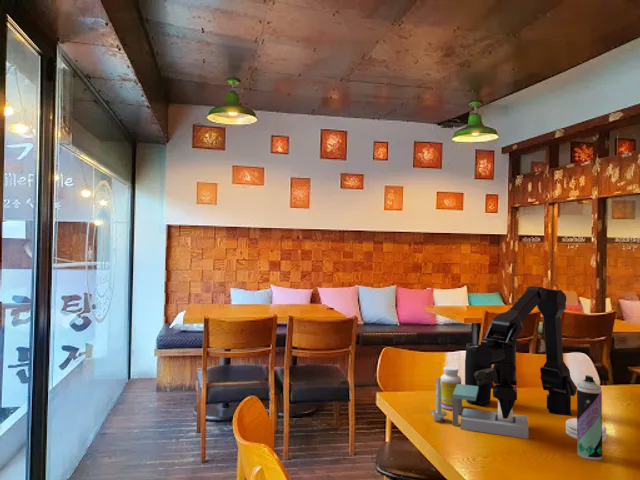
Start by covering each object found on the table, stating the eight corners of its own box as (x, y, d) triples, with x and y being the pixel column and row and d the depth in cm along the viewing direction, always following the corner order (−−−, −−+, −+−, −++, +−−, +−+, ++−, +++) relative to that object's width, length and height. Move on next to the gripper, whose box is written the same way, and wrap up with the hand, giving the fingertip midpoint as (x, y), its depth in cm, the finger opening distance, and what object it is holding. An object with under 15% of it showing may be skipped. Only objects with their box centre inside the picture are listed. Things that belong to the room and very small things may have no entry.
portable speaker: (490, 399, 166) (490, 343, 166) (492, 408, 157) (492, 348, 157) (464, 397, 168) (464, 341, 169) (464, 405, 159) (465, 346, 160)
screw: (432, 416, 148) (447, 418, 146) (428, 421, 144) (445, 423, 142) (432, 374, 149) (447, 376, 147) (428, 378, 144) (445, 380, 142)
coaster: (602, 432, 137) (601, 420, 137) (610, 445, 127) (610, 432, 127) (563, 428, 140) (563, 415, 140) (568, 440, 131) (568, 427, 131)
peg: (512, 428, 139) (512, 397, 139) (512, 432, 135) (512, 400, 136) (498, 426, 140) (498, 395, 141) (497, 430, 137) (497, 399, 137)
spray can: (572, 451, 123) (572, 373, 123) (592, 451, 123) (592, 373, 124) (586, 460, 117) (585, 379, 118) (607, 460, 118) (606, 378, 118)
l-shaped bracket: (478, 415, 149) (478, 386, 149) (475, 428, 138) (475, 396, 138) (457, 412, 152) (457, 383, 152) (452, 425, 141) (452, 394, 141)
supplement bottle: (462, 411, 153) (462, 371, 154) (441, 409, 155) (441, 370, 155) (460, 404, 160) (460, 366, 160) (440, 403, 161) (440, 365, 161)
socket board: (527, 426, 140) (527, 416, 140) (528, 438, 131) (528, 427, 131) (463, 418, 147) (463, 408, 147) (460, 429, 138) (460, 418, 138)
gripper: (478, 352, 150) (478, 402, 150) (473, 365, 133) (473, 422, 132) (516, 355, 146) (516, 407, 145) (516, 369, 129) (517, 427, 128)
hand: (505, 415), depth 138 cm, fingers open, 5 cm apart
